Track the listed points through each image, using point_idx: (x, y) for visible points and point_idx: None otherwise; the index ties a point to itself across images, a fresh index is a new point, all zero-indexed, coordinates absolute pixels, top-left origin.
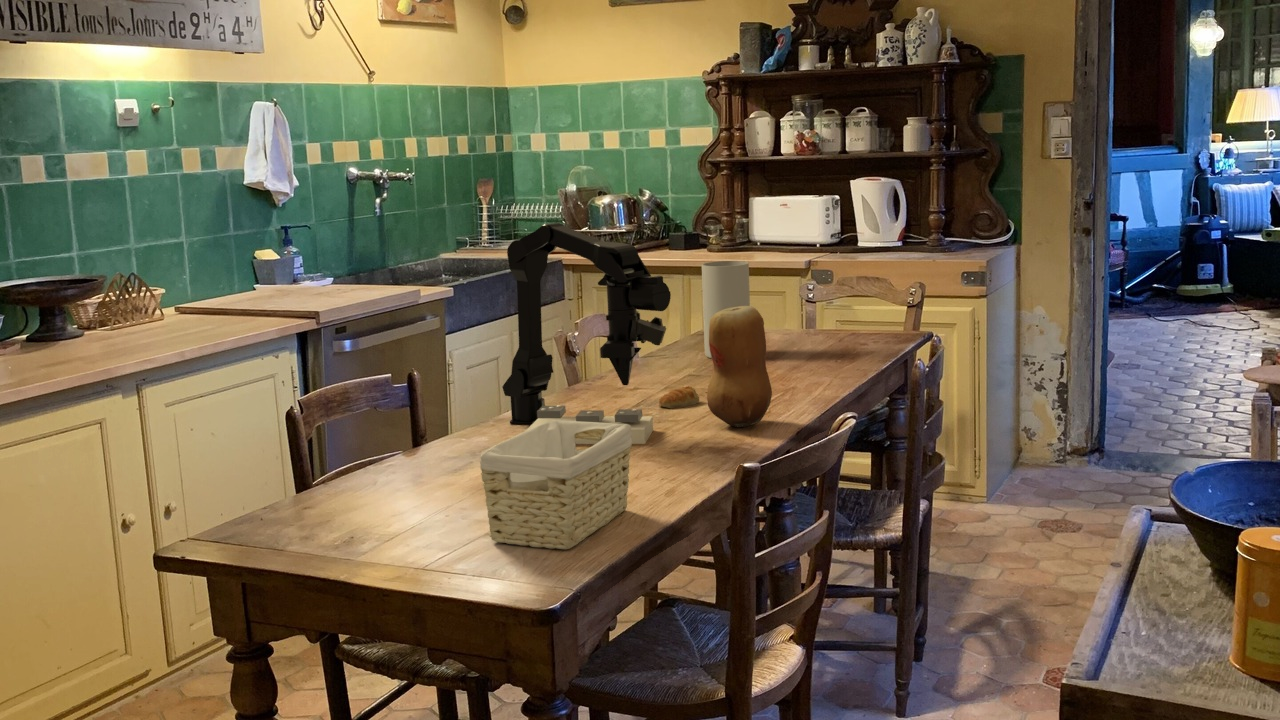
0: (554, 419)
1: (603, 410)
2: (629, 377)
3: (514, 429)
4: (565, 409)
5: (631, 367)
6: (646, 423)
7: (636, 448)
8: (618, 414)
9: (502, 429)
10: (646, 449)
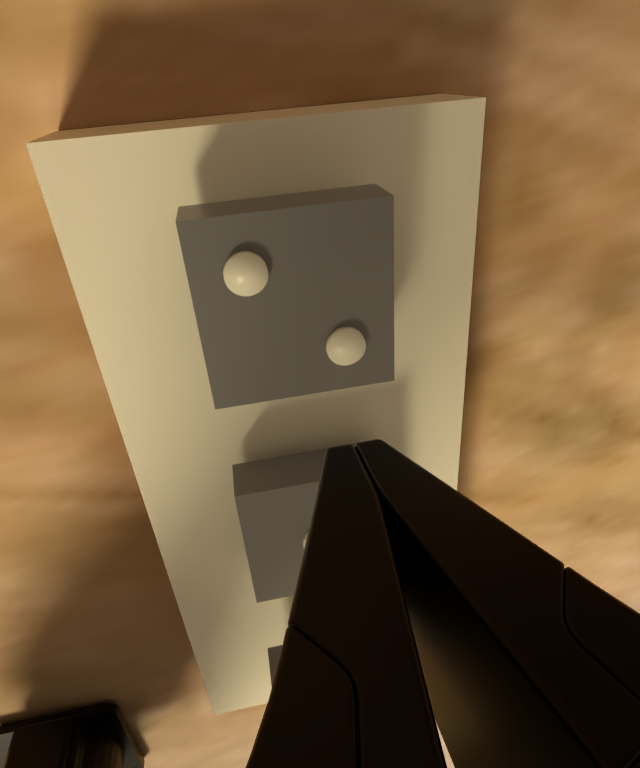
0: (257, 654)
1: (239, 496)
2: (362, 493)
3: (211, 722)
4: (270, 664)
5: (320, 624)
6: (295, 129)
7: (531, 125)
8: (382, 358)
9: (219, 746)
10: (563, 45)
